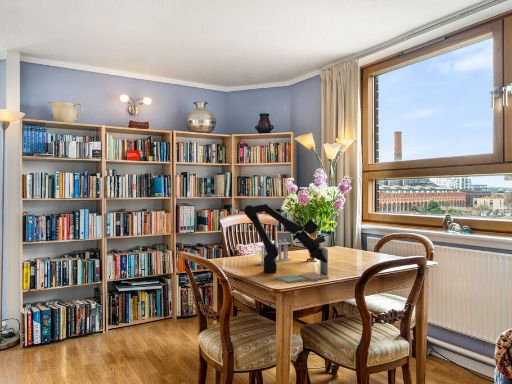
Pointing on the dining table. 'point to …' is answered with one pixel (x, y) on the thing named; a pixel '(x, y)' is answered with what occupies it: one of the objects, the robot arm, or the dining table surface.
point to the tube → (322, 264)
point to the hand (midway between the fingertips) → (326, 261)
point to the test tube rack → (279, 252)
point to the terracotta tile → (313, 276)
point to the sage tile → (291, 278)
